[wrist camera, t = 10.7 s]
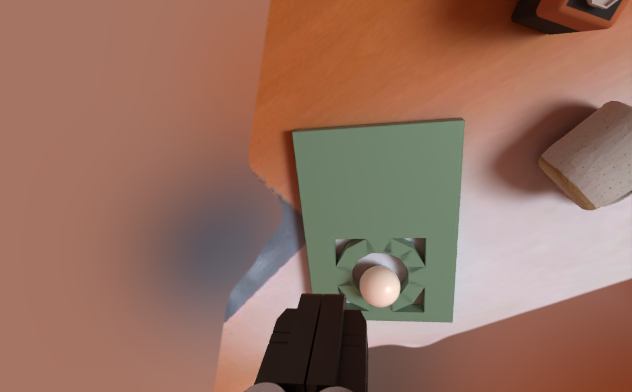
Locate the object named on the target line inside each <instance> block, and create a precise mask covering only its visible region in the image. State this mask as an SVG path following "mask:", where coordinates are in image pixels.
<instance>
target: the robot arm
mask: <svg viewBox="0 0 632 392" xmlns="http://www.w3.org/2000/svg"><path fill="white" fill-rule="evenodd" d="M244 392H368V341H367V323H366V320H365V318H364V316H363V314H362V312H361V310H347V305H346V295H345V294H324V295H323V294H302V295H301V297H300V301H299V304H298V308H297V309H290V308H287V309H286V310H285V311H284V312H283V313H282V314H281V315H280V316H279V318H278V319H277V321H276V324H275V327H274V330H273V334H272V335H271V338H270V341H269V344H268V347H267V349H266V352H265V355H264V358H263V361H262V364H261V366H260V369H259V372H258V375H257V378H256V381H255V383H254V385H253V386H251V387H250V388H248V389H247V390H245V391H244Z"/></svg>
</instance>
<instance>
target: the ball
mask: <svg viewBox="0 0 632 392" xmlns="http://www.w3.org/2000/svg"><path fill="white" fill-rule="evenodd" d="M360 292H361V294H362V296H363V298H364V299H365V300H366V301H367V302H368V303H369V304H371V305H373V306H375V307H386V306H389V305H391V304H392V303H394V302H395V301H396V299H397V298H398V296H399V293H400V281H399V279H398V277H397V275H396V274H395V273H394V272H393V271H392V270H391V269H389V268H387V267H385V266H373V267H371V268H369V269H367V270H366V271H365V272H364V273H363V275H362V277H361V279H360Z"/></svg>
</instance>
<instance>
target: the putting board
mask: <svg viewBox="0 0 632 392" xmlns="http://www.w3.org/2000/svg"><path fill="white" fill-rule="evenodd" d="M464 126H465V120H464V119H462V118H451V119H437V120H423V121H408V122H394V123H380V124H366V125H352V126H338V127H324V128H310V129H296V130H294V131H293V132H292V135H293V143H294V151H295V159H296V167H297V175H298V183H299V191H300V199H301V207H302V215H303V223H304V231H305V239H306V247H307V256H308V264H309V272H310V280H311V288H312V294H323V295H324V294H340V290H341V291H342V292H343V294H345V295H346V297H347V299H348V300H349V301H350V302H351V303H353V304H350V303H346V305H347V310H361V312H362V314H363V316H364V318H365V320H378V321H416V322H452V321H453V305H454V288H455V272H456V256H457V239H458V223H459V207H460V191H461V174H462V158H463V142H464ZM403 238H424V260H423V258H422V257H421V255H420V254H419V252H418V251H417V249H416V248H415V246H414V245H413V244H412V242H410V241H408V240H405V239H403ZM335 239H354V240H352V241H350V242H348V243H347V244H346V246H345V247H344V249H343V251H342V253H341V254H340V256H339V258H338V259H337V256H336V244H335ZM370 253H388V254H391V255H393V256H395V257H397V258H399V259H401V260H402V262H403V263H404V265H405V266H406V268H407V277H406V279H405V280H404V282H403V283H402V284H401V286H400V293H399V296H398V298H397V299H396V301H395V302H394V303H392V304H391V305H389V306H386V307H375V306H373V305H371V304H369V303H368V302H367V301H366V300H365V299H364V298H363V296H362V294H361V292H360V284H359V283H358V281H357V280H356V279H355V278H354V276H353V268H354V266H355V265H356V263H357V261H358V260H359V259H361V258H363V257H365V256H367V255H368V254H370ZM339 289H340V290H339ZM422 290H423V305H410V304H412V303H413V302H414V301H415V300H416V298H417V297H418V296H419V294H420V293H421V292H422Z"/></svg>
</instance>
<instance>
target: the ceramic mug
mask: <svg viewBox="0 0 632 392" xmlns="http://www.w3.org/2000/svg"><path fill="white" fill-rule="evenodd" d="M538 165H539V167H540V168H541V169H542V171H543V172H544V173H545V174H546V175H547V176H548V177H549V178H550V179H551V180H552V181H553V182H554V183H555V184H556V185H557V186H558V187H559V188H560V189H561V190H562V191H563V192H564V193H565V194H566V195H567V196H568V197H569V198H570V199H571V200H572V201H573V202H575V203H576V204H577V205H578V206H579V207H581V208H582V209H585V210H594V209H597V208H600V207H603V206H608V205H612V204H615V203H617V202H619V201H621V200H623V199H625V198H627V197H629V196H630V195H632V107H631V106H629V105H627V104H624V103H621V102H618V101H610V102H607V103H606V104H604V105H603V106H602V107H601V108H599V109H598V110H597V111H595V112H594V113H593V114H592V115H590V116H589V117H588V118H586V119H585V120H584V121H583V122H581V123H580V124H579V125H577V126H576V127H575V128H574V129H572V130H571V131H570V132H569V133H567V134H566V135H565V136H563V137H562V138H561V139H559V140H558V141H556V142H555V143H554V144H553V145H551V146H550V147H549V148H548V149H547V150H546V151H545V152H544V153H543V154H542V155H541V156H540V158H539V159H538Z"/></svg>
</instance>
